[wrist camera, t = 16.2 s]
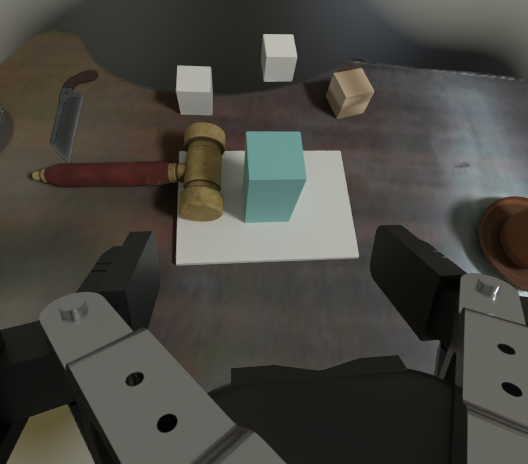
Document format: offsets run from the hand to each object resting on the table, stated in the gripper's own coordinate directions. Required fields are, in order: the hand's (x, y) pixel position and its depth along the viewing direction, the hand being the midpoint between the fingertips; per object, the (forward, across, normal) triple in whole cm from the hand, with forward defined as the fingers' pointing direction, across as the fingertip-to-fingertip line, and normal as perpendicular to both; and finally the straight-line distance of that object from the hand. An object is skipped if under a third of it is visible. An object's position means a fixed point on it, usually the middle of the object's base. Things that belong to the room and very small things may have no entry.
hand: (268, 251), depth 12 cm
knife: (+36, +20, -1) cm, 41 cm away
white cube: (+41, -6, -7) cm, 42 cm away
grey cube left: (+36, +5, -3) cm, 37 cm away
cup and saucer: (+21, -34, +12) cm, 42 cm away
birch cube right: (+36, -15, -3) cm, 40 cm away
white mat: (+26, -3, +7) cm, 27 cm away
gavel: (+28, +12, +5) cm, 31 cm away
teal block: (+25, -3, +7) cm, 26 cm away
